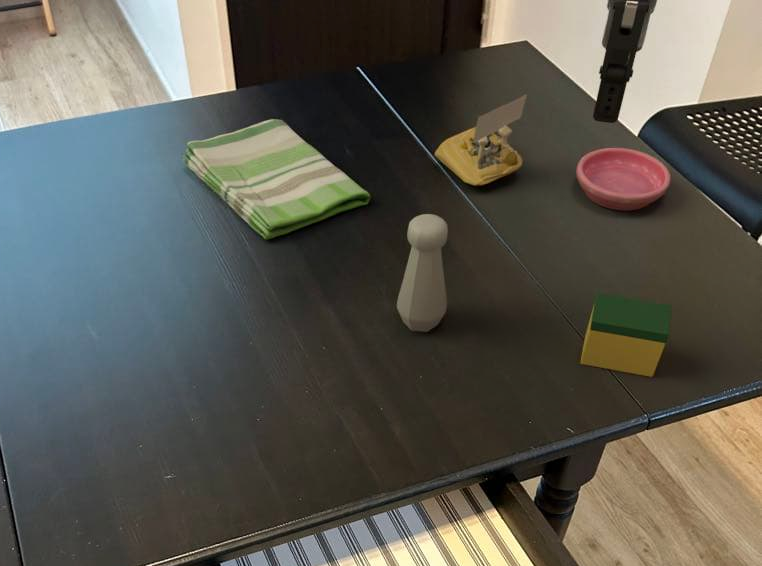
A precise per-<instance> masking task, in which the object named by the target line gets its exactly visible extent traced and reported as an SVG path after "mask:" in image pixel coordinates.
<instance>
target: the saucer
mask: <svg viewBox="0 0 762 566" xmlns="http://www.w3.org/2000/svg"><path fill="white" fill-rule="evenodd" d="M575 172H576V179H577V181H578V183H579V185H580V187H581V188H582V190H583V191H584V194H585V195H586V196H587V198H589V199H590V200H591V201H592V202H594V203H595V204H597V205H599V206H601V207H603V208H607V209H610V210H615V211H635V210H640V209H642V208H645V207H647V206H649V205H650V204H651V203H654V202H656V201H657V200H659V198H661V197H662V196H664V195H665V193H666V192H667V191H668V190H669V186H670V184H671V179H672V178H671V174H670V171H669V169H668V168H667V167H666V165H664V164H663V163H662V162H661V161H660V160H659V159H657V158H656V157H654V156H652V155H650V154H648V153H645V152H643V151H641V150H640V151H639V150H635V149H632V148H631V149H630V148H625V147H606V148H600V149H596V150H592V151H590V152H588V153H587V154H585V155H584V156H582V157H581V158H580V160H579V161H578V162H577V167H576V171H575Z"/></svg>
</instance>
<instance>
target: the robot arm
mask: <svg viewBox="0 0 762 566" xmlns="http://www.w3.org/2000/svg"><path fill="white" fill-rule="evenodd" d="M657 2H658V0H607V3H606V8H607V11H608V12H607V16H606V22H605V26H604V31H603V34H602V40H601V45H602V47H603V48H604V49H605V53H604V57H603V61H602V65H600V67H599V71H598V74H599V75H600V76H599V79H600V82H599V86H598V91H597V95H596V100H595V104H594V109H593V114H592V118H593V120H594V121H595V122H599V123H600V122H601V123H608V124H614V123H616V122H617V121H618V120H619V117H620V113H621V109H622V105H623V101H624V97H625V92H626V88H627V85H628V84H627V83H629V82H630V79H631V78H633V74H634V69H633V68H634V62H635V59H636V56H637V53H638V52H640V51H642V49H643V47H644V44H645V41H646V36H647V31H648V29H649V22H650V19H651V15H652V14H653V13H654V12H655V10H656V6H657Z"/></svg>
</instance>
